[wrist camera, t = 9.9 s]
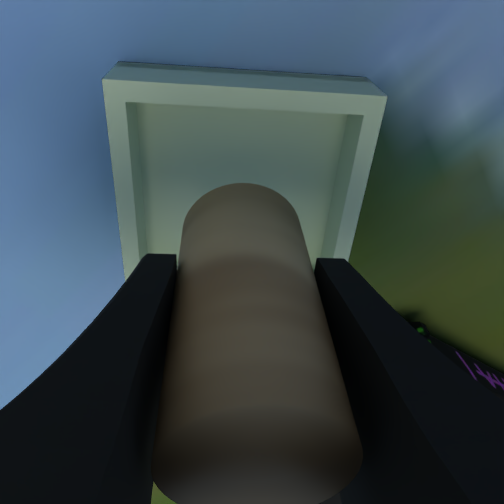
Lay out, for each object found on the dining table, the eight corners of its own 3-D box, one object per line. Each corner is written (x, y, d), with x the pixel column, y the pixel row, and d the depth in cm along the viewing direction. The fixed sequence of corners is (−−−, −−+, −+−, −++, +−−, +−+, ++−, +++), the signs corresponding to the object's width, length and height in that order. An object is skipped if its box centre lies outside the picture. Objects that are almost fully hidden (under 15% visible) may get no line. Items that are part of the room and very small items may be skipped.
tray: (366, 77, 13) (387, 96, 11) (325, 271, 17) (337, 306, 15) (118, 61, 12) (102, 79, 10) (137, 266, 16) (127, 302, 14)
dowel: (288, 285, 12) (333, 518, 7) (179, 278, 12) (150, 518, 7) (312, 189, 10) (391, 408, 6) (185, 176, 10) (151, 399, 5)
